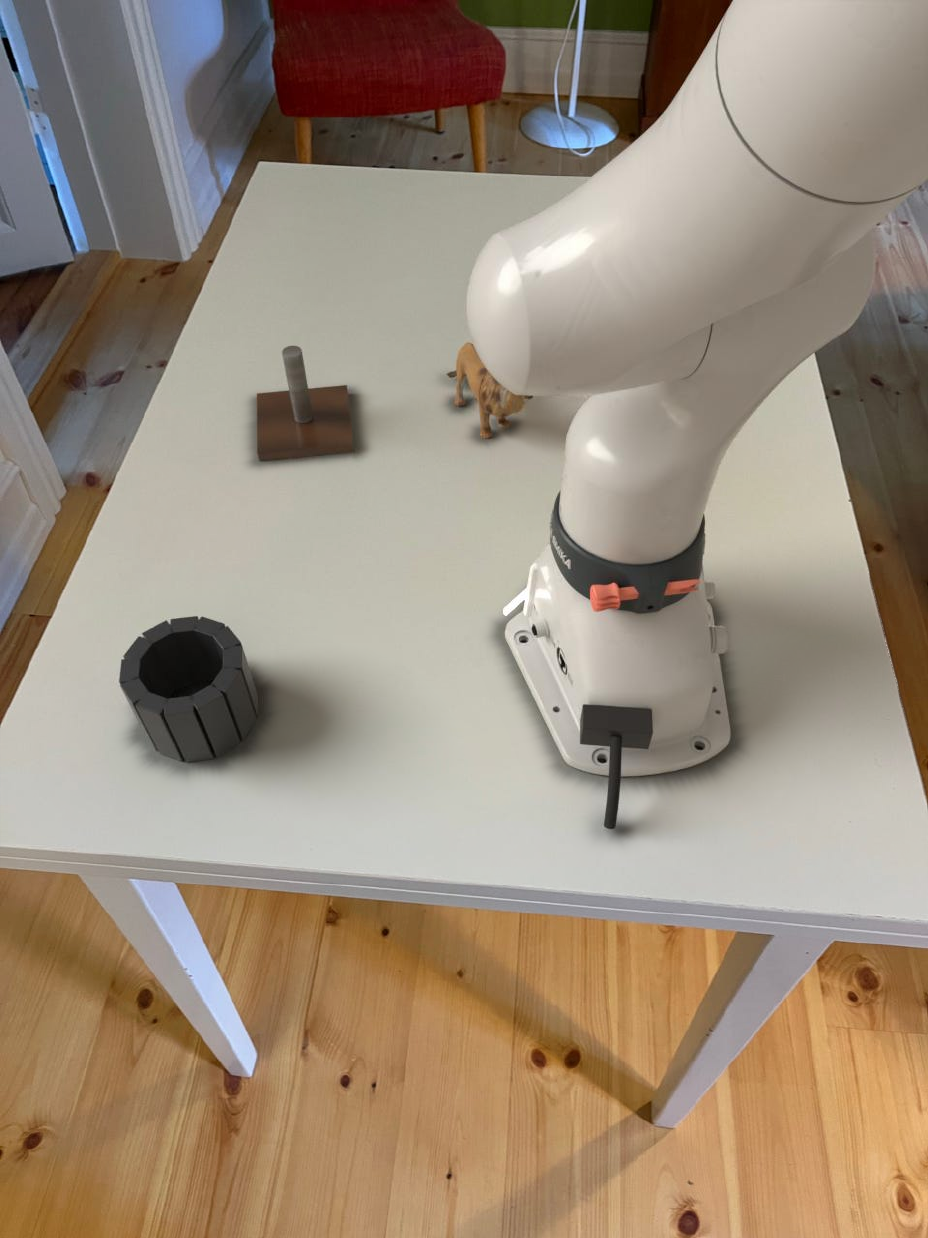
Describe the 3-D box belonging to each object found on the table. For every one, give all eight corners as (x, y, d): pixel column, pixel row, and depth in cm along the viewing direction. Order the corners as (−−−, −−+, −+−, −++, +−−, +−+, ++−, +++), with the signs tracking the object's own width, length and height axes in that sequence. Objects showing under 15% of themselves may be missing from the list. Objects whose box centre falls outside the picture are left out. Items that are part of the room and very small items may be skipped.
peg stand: (354, 451, 99) (344, 376, 91) (259, 461, 98) (241, 386, 90) (347, 393, 105) (338, 318, 97) (258, 401, 104) (242, 327, 96)
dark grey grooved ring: (258, 753, 75) (241, 705, 70) (140, 768, 75) (114, 721, 69) (257, 661, 81) (242, 610, 76) (148, 674, 80) (124, 623, 75)
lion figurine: (541, 440, 100) (547, 370, 93) (500, 458, 98) (503, 388, 91) (465, 370, 107) (465, 301, 100) (426, 386, 105) (423, 317, 98)
